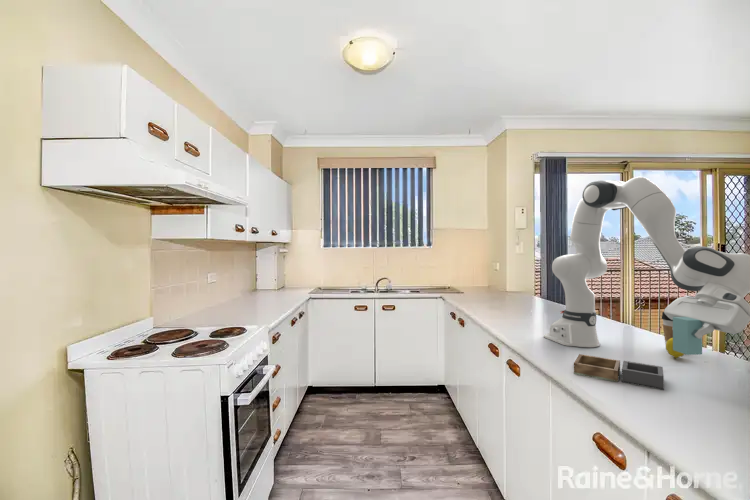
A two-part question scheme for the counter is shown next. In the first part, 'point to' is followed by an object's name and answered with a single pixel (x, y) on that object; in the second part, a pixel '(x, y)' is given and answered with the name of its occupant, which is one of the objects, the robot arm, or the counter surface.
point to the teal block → (686, 336)
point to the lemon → (670, 349)
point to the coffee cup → (667, 327)
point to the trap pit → (643, 374)
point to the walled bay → (597, 367)
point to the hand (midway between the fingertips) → (685, 334)
